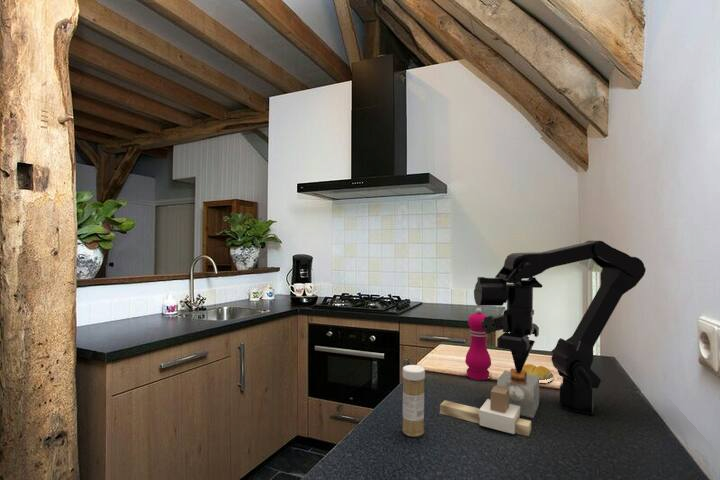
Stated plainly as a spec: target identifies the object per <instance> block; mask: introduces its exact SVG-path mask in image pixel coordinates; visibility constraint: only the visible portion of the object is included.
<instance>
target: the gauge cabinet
mask: <svg viewBox="0 0 720 480" xmlns="http://www.w3.org/2000/svg"><path fill="white" fill-rule="evenodd" d="M496 381H497V384H496V386H501V387H506V388H509V404H512V405H517V406H520V414H519V416H522V417H523V416H524V417H527V418H531V419H534V418H535V415H536V413H537V411H538V409H539V407H540V384H539V377H538V376H533V375H527V379H526V380H524V381H519V380H514V379H513V378H511V370H510V371H509V370H504V371H503V372H502V373H501V374H500V376H499V377H498V379H497V380H496Z"/></svg>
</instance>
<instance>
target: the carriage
mask: <svg viewBox="0 0 720 480" xmlns="http://www.w3.org/2000/svg"><path fill="white" fill-rule="evenodd" d="M519 414H520V406H517V405H512V404H509V388H506V387H501V386H497V384H496V385H494V386H493V387H492V389H491V390H490V399H489V398H487V399H486V400H485V402H484V403H483V405H481V407H480V408H479V417H480V424H479V426H482V427H485V428H488V429H493V430H496V431H500V432H504V433H508V434H511V435H515V434H516V433H515V422H516V420H517V418H520V415H519Z"/></svg>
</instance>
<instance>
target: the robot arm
mask: <svg viewBox="0 0 720 480" xmlns="http://www.w3.org/2000/svg"><path fill="white" fill-rule="evenodd" d="M587 260H592V262H593V263H594V264H595V265H597V266H598V267H600V268H601V272H600V286H599V287H598V290H596V291H597V292H596V293H595V295H594V297H593V299H592V300H591V302H590V304H589V305H588V307H587V308H586V311H585V313H584V315H583V316H582V318H581V320H580V321H579V323H578V326H577V327H576V329H575V330H574V333H572V335H571V336H570V337H569V338H568V339H566V340H565V339H563V338H561V337H560V338H559V339H558V340H557V342H556V345H555V347H554V348H553V349H552V350H551V354H552V355H551V359H550V360H551V362H552V366H553V367H554V368H555V369H556V370H557V373H558V375H559V377H562V378H563V379H562V383H560V385H559V403H560V404H561V406H560V408H561V409H563V410H568V411H572V412H577V413H581V414H585V415H593V414H594V408H595V407H594V389H599V387H600V384H601V381H602V380H601V378H600V377H599V376H598V375H597V374H596V373H595V372H594V371H593V370H592V365H593V363H594V347H595V345H596V343H597V341H598V339H599V337H600V336H601V334H602V332H603V330H604V329H605V328H606V327H605V326H606V325H607V323H608V322H609V320H610V319H611V316H612V314H613V313H614V311H615V309H616V307H617V306H618V304H619V302H620V300H622V299H621V298H622V297H623V296H624V295H625V294H626V293H628V292H629V291H630V290H632V289H633V288H635V287H636V286H637V285H638V284H639V282H640V281H641V280H642V279H643V277H644V276H645V274H646V271H647V269H646V267H645V264H644V262H643V261H642V260H641V259H640V258H639V257H638V256H637V257H636V256H630V255H629V254H628V253H625V252H624V251H621V250H619V249H616V248H615V247H612V246H611V245H609V244H608V243H606V242H604V241H603V240H587V241H585V242H581V243H578V244H573V245H567V246H564V247H559V248H554V249H549V250H546V251H540V252H539V251H538V252H537V251H536V252H512V253H510V254H508V255H507V256H506V258H505V260H504V264H503V266H502V268H501V269H500V270H499V271H498V273H497V274H496V275H495V277H485V276H477V282H476V283H475V286H474V290H473V297H474V303H475V304H476V306H477V307H478V306H479V307H482V306H483V307H487V306H488V307H491V306H492V307H497V306H498V307H499V306H500V307H502V306H504V304H506V309H505V310H504V311H503V314H499V315H496V316H495V315H494V316H493V315H488V316H487V317H484V320H483V321H482V328H483V329H484V330H485V333H486V334H487V335H488V334H491V333H493V332H499V331H502V332H503V333H502V334H501V335H500V336H498V338H497V339H496V341H497V342H496V345H497V346H496V347H497V348H498V349H504V350H509V351H510V353H511V356H512V360H513V364H514V369H516V371H518V372H521V371H522V369H523V367H524V365H526V362H527V360H528V358H529V355H530V354H531V351H532V349H533V346H534V345H535V343H536V341H535V340H534V339H533V340H532V339H530V336H531V335H534V337H535V338H538V336H540V334H539V333H540V327H539V326H538V325H537V324H536V323H534V322H533V321H534V320H533V316H534V315H535V309H533V308H534V303H533V301H534V288H536V289H537V288H539V289H541V288H543V284H542V283H541V282H539V281H538V280H537V278H536V276H538V275H540V274H542V273H544V272H545V271H546V270H549V269H551V268H555V267H559V266H560V267H561V266H564V265H569V264H573V263H578V262H582V261H587Z"/></svg>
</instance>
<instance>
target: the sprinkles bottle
mask: <svg viewBox="0 0 720 480" xmlns="http://www.w3.org/2000/svg"><path fill="white" fill-rule="evenodd" d="M425 378H426V369H425V367H423V366H421V365H417V364H408V365H404V366H403V367H402V379H403V380H402V382H403V384H402V385H403V386H402V429H401V430H402V432H403V434H405V436H408V437H413V438H414V437H415V438H416V437H421V436H422V435H424V433H425V428H424V419H425Z"/></svg>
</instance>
